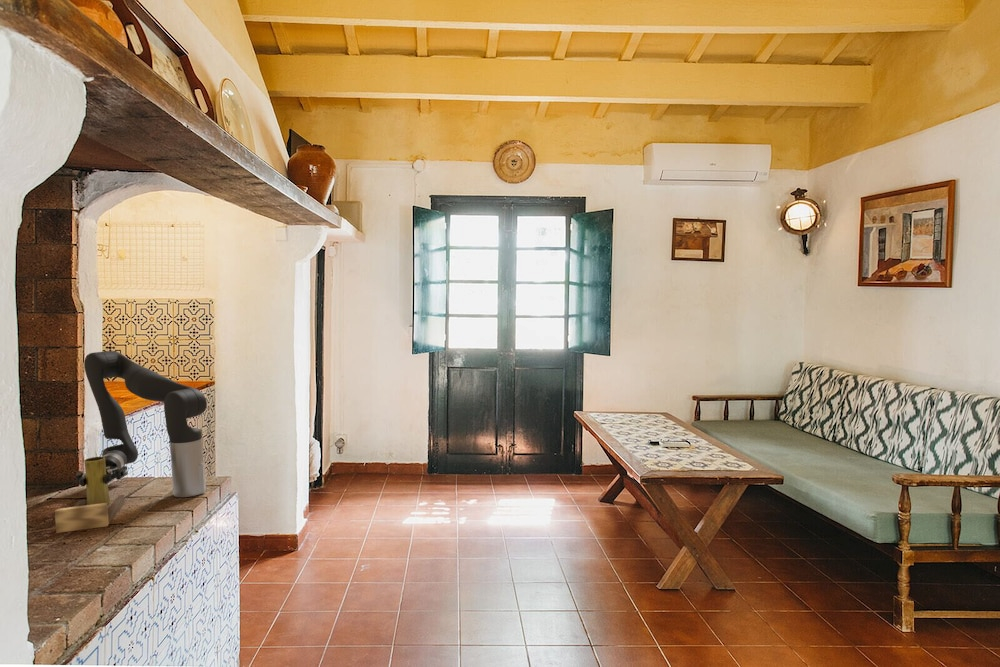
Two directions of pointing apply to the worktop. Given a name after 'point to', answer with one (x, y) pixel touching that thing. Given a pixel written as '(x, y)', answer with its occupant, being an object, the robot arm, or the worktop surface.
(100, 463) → the vase
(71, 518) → the track
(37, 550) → the worktop surface
